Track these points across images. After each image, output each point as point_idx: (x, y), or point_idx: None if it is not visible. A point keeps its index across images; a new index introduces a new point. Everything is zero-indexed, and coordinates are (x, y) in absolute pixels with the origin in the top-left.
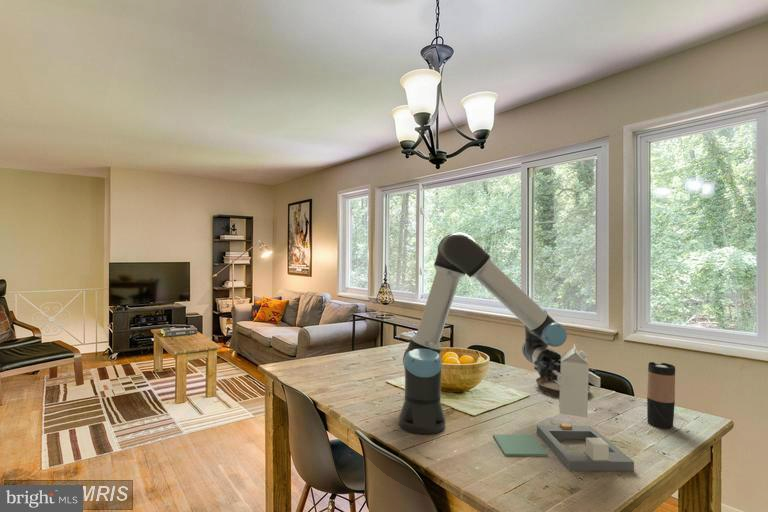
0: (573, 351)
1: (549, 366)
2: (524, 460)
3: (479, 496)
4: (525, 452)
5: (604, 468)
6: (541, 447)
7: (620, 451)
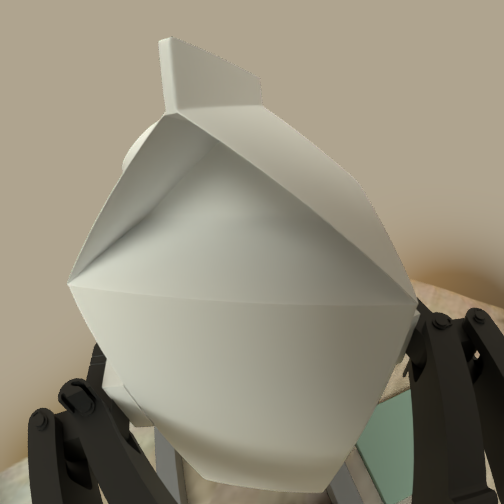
0: (259, 111)
1: (474, 419)
2: (389, 382)
3: (412, 281)
4: (393, 403)
5: None
6: (360, 444)
7: (157, 434)
